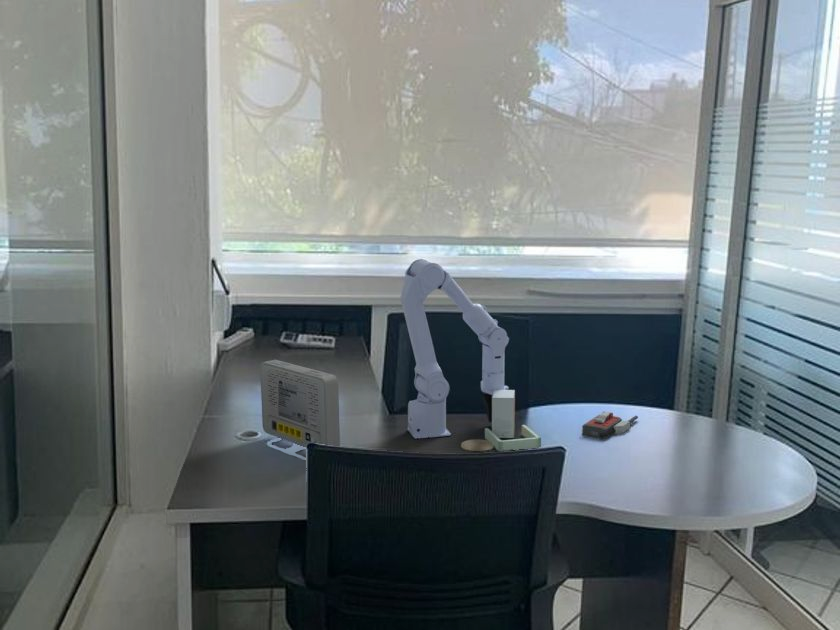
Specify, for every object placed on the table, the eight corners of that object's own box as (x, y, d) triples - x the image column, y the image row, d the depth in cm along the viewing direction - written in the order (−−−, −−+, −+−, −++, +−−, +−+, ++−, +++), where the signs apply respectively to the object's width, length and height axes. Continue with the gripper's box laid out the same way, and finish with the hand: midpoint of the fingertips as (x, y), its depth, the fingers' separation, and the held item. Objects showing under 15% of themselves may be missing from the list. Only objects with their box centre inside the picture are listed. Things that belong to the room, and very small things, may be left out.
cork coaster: (466, 453, 205) (466, 451, 205) (457, 442, 213) (457, 440, 213) (498, 450, 207) (498, 448, 207) (487, 439, 215) (487, 438, 215)
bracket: (499, 451, 206) (499, 441, 206) (484, 437, 216) (484, 428, 216) (540, 447, 209) (541, 438, 208) (524, 434, 219) (524, 424, 218)
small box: (514, 439, 215) (514, 398, 213) (491, 438, 216) (491, 397, 214) (514, 429, 223) (515, 389, 221) (493, 428, 224) (493, 388, 222)
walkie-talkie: (611, 443, 213) (640, 422, 229) (612, 426, 212) (641, 406, 228) (578, 437, 218) (609, 417, 234) (578, 420, 217) (609, 401, 233)
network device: (347, 456, 204) (345, 374, 200) (318, 466, 198) (315, 381, 194) (282, 433, 222) (279, 357, 218) (253, 441, 215) (250, 363, 212)
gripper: (517, 376, 218) (517, 428, 220) (498, 363, 232) (498, 412, 234) (491, 378, 216) (491, 430, 219) (473, 365, 230) (473, 414, 232)
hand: (492, 421), depth 226 cm, fingers closed
